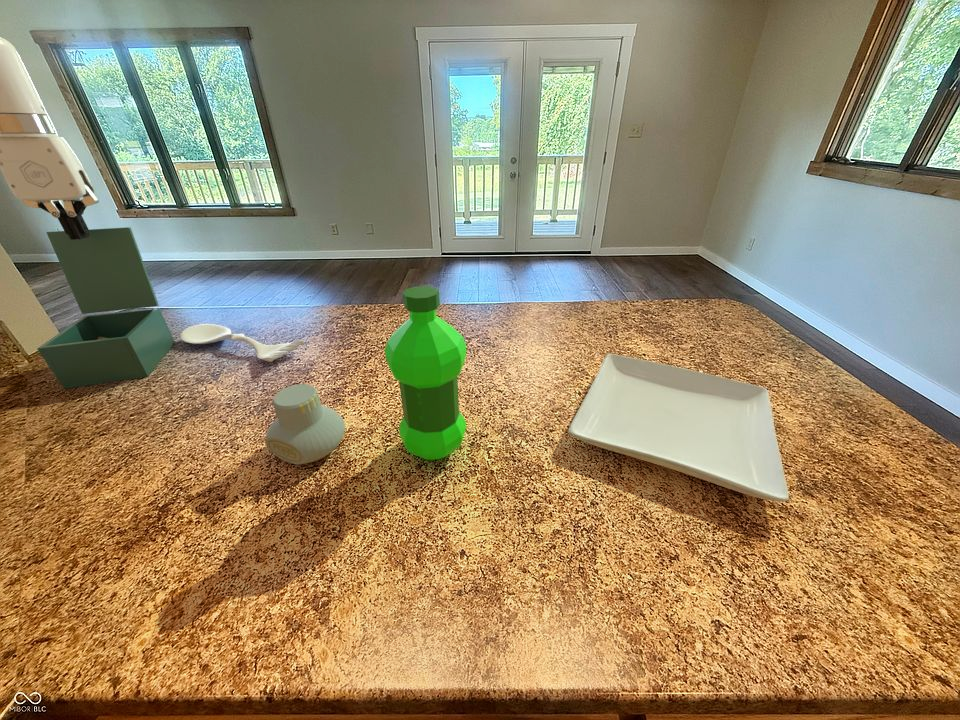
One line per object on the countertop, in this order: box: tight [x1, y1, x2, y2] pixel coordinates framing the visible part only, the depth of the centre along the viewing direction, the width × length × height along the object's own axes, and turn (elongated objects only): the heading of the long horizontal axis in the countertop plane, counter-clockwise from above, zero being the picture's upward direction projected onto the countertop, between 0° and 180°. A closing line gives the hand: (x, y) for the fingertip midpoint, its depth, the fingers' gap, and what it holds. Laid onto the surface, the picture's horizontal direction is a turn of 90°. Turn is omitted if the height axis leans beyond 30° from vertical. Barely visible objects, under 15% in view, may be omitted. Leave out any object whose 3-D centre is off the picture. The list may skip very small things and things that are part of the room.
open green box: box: [36, 307, 176, 390], centre depth 78 cm, size 16×14×9 cm
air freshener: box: [264, 383, 346, 465], centre depth 56 cm, size 11×8×10 cm
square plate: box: [568, 353, 790, 503], centre depth 61 cm, size 27×27×4 cm
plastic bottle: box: [384, 285, 467, 461], centre depth 52 cm, size 10×10×25 cm
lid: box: [46, 226, 160, 315], centre depth 79 cm, size 16×14×1 cm
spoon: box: [179, 323, 305, 363], centre depth 85 cm, size 9×32×4 cm, turn 67°
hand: (80, 237), depth 74 cm, fingers closed
